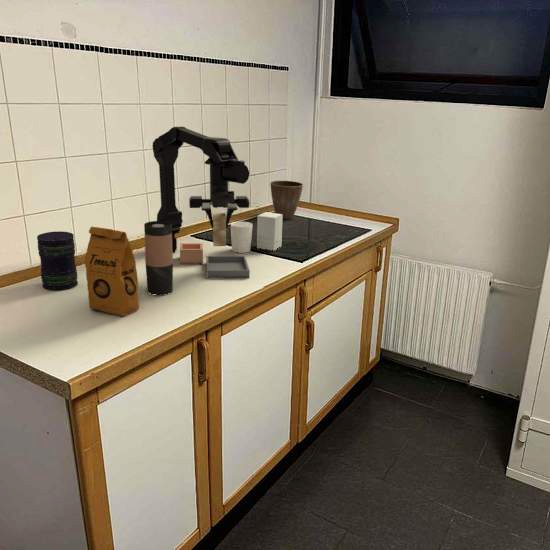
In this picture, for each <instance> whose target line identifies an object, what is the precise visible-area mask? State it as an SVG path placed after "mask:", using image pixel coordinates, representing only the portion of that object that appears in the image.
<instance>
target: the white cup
mask: <svg viewBox="0 0 550 550" xmlns="http://www.w3.org/2000/svg"><path fill="white" fill-rule="evenodd" d="M252 234H253V223H252V222H249V221H233V222H231V223H230V240H231V251H232V252H233V251H234V253H236V252H239V253H238V254H246V252H247V253H249V252H251V244H252V238H253V237H252Z"/></svg>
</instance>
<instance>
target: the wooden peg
mask: <svg viewBox="0 0 550 550" xmlns="http://www.w3.org/2000/svg"><path fill="white" fill-rule="evenodd" d="M212 219H213V229H212V246H213V247H227V229H226V212H212Z"/></svg>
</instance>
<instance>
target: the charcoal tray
mask: <svg viewBox="0 0 550 550" xmlns="http://www.w3.org/2000/svg"><path fill="white" fill-rule="evenodd" d="M205 260H206V261H205V264H206V266H205V267H206V278H207V279H248V278H249V279H250V272H251V271H250V267H249V264H248V261H247V258H246V255H206V256H205Z"/></svg>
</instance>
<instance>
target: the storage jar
mask: <svg viewBox="0 0 550 550" xmlns="http://www.w3.org/2000/svg"><path fill="white" fill-rule="evenodd" d="M36 240H37V249H38V256H39V259H40V266H41V268H40V278H41V283H42V286H41V287H42V289H44V290H45V291H50V292H51V291H52V292H62V291H68V290H71V289H74V288H76V287H77V286H78V284H79V282H78V271H77V265H76V258H75V256H76V255H75V254H76V250H75V249H76V248H75V247H76V244H75V238H74V234H73V233H72V232H69V231H63V230H62V231H61V230H60V231H58V230H57V231H48V232H43V233H39V234H38V235H37V236H36Z"/></svg>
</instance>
